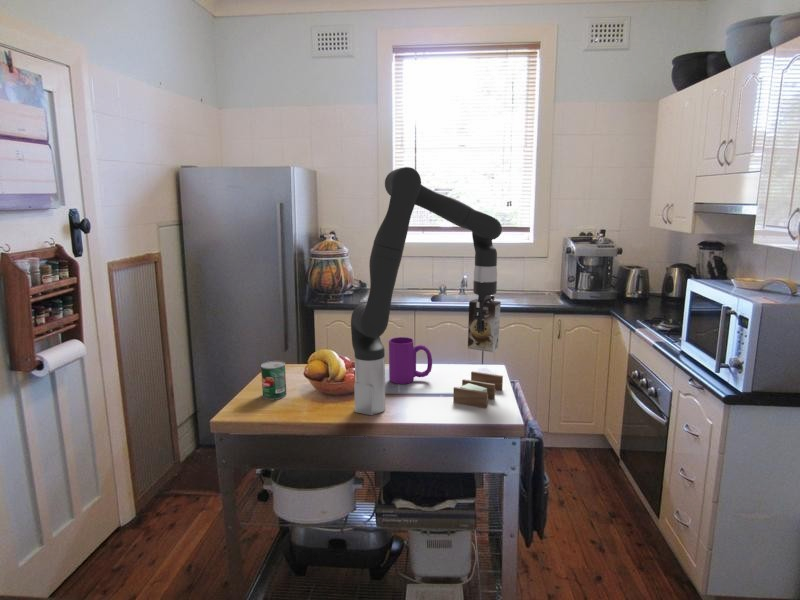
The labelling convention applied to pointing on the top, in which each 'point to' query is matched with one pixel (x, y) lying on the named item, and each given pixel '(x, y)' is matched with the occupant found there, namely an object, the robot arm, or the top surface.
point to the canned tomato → (273, 380)
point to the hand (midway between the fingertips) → (483, 328)
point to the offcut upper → (474, 387)
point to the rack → (476, 396)
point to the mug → (405, 360)
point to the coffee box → (490, 335)
